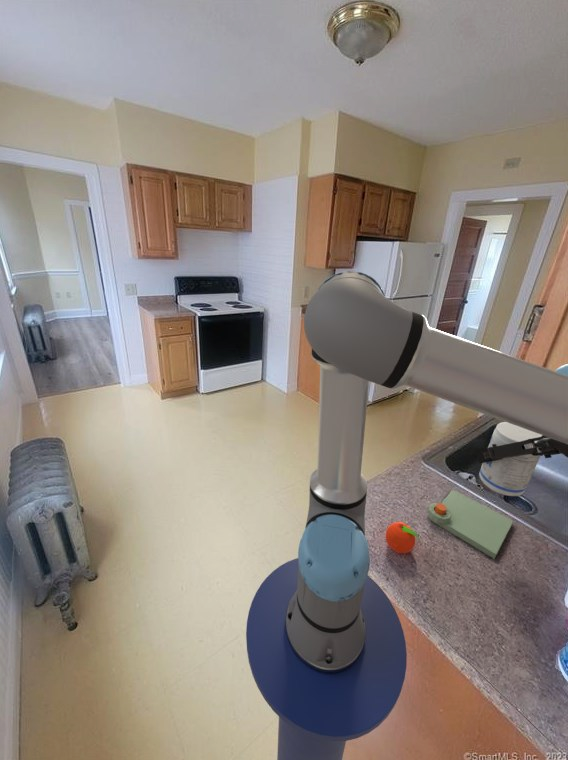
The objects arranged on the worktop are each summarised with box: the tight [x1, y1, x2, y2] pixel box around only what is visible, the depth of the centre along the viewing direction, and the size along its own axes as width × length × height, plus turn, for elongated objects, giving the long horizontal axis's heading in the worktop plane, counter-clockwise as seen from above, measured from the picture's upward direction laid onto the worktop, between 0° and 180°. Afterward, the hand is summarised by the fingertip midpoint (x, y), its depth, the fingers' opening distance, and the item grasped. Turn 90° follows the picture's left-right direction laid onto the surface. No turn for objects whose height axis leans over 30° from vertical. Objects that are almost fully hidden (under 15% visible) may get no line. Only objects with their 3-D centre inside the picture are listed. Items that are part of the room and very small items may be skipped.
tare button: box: [435, 502, 447, 515], centre depth 87 cm, size 3×3×2 cm
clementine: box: [385, 521, 421, 554], centre depth 79 cm, size 8×7×7 cm
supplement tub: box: [478, 421, 542, 497], centre depth 74 cm, size 10×10×15 cm
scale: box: [427, 489, 514, 559], centre depth 87 cm, size 17×16×4 cm
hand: (497, 455), depth 78 cm, fingers closed on supplement tub, 9 cm apart
